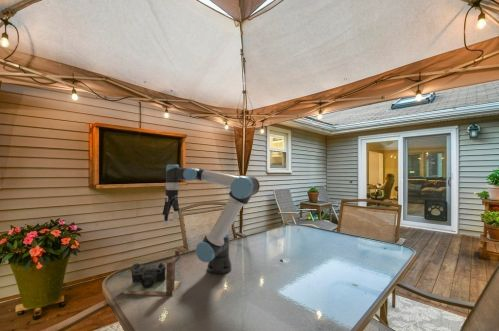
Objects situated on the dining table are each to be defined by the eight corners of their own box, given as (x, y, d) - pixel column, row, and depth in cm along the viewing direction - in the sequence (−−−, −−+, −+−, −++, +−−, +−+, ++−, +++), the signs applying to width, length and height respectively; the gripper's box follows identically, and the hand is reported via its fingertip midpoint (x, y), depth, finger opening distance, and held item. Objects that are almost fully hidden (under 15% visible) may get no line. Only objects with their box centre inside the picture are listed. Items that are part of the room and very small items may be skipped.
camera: (126, 292, 113) (125, 274, 112) (132, 279, 122) (131, 262, 120) (163, 289, 117) (163, 271, 115) (167, 277, 125) (166, 261, 124)
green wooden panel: (181, 283, 123) (182, 249, 124) (172, 295, 111) (173, 257, 112) (136, 282, 125) (137, 248, 125) (123, 293, 113) (124, 255, 113)
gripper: (173, 188, 154) (172, 219, 154) (157, 190, 130) (155, 228, 129) (184, 188, 154) (183, 219, 153) (169, 190, 129) (168, 228, 128)
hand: (171, 223), depth 141 cm, fingers open, 13 cm apart
